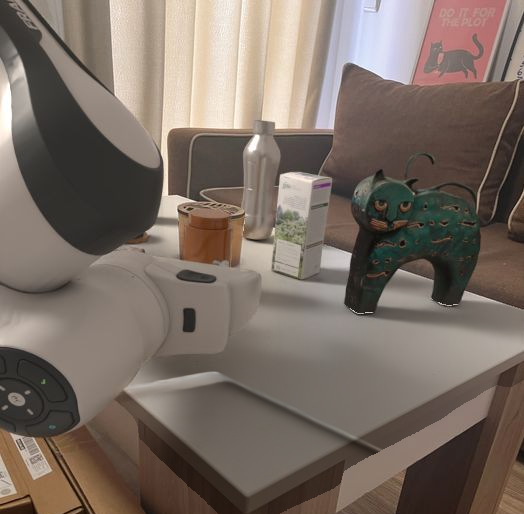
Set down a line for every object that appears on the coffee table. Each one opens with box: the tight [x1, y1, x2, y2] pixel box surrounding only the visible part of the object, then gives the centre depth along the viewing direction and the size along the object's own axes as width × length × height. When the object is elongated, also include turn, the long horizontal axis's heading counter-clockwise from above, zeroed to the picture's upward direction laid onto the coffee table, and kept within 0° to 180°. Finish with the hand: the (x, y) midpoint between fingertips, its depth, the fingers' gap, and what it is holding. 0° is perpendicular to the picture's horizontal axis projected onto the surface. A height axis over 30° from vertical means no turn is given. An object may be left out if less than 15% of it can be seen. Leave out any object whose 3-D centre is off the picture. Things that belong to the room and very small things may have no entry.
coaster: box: [125, 231, 149, 245], centre depth 90 cm, size 8×8×1 cm
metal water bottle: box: [240, 119, 282, 241], centre depth 92 cm, size 6×7×20 cm
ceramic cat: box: [343, 151, 482, 313], centre depth 68 cm, size 20×6×20 cm, turn 112°
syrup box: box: [270, 171, 333, 280], centre depth 78 cm, size 6×6×14 cm
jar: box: [182, 208, 234, 267], centre depth 68 cm, size 6×6×10 cm
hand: (180, 260), depth 57 cm, fingers open, 8 cm apart
